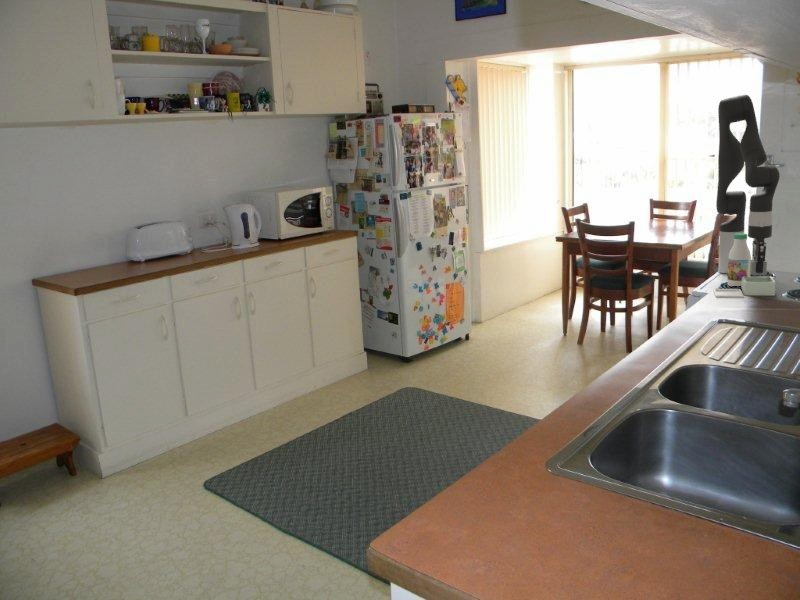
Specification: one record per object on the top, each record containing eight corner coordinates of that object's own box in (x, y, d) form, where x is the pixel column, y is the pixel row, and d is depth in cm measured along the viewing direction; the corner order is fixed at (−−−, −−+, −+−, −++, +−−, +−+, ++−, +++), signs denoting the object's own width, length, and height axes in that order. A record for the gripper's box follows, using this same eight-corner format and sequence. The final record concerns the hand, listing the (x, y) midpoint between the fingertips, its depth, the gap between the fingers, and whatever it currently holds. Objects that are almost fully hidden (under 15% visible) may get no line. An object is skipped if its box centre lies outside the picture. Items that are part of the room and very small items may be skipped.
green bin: (741, 290, 256) (741, 276, 255) (770, 290, 253) (771, 276, 252) (744, 296, 247) (745, 282, 246) (774, 296, 244) (775, 282, 243)
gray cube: (750, 272, 251) (750, 259, 250) (764, 272, 250) (764, 259, 249) (751, 274, 247) (752, 262, 246) (766, 274, 246) (766, 261, 245)
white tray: (713, 292, 257) (713, 288, 257) (739, 292, 254) (740, 288, 254) (715, 298, 247) (715, 295, 247) (743, 299, 244) (743, 295, 244)
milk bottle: (733, 283, 269) (734, 232, 264) (753, 285, 263) (755, 233, 258) (723, 287, 264) (725, 234, 259) (744, 289, 258) (746, 236, 253)
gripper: (745, 221, 252) (744, 267, 256) (751, 226, 239) (749, 275, 243) (769, 221, 250) (766, 267, 254) (775, 226, 237) (773, 275, 240)
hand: (758, 271), depth 248 cm, fingers closed on gray cube, 4 cm apart
